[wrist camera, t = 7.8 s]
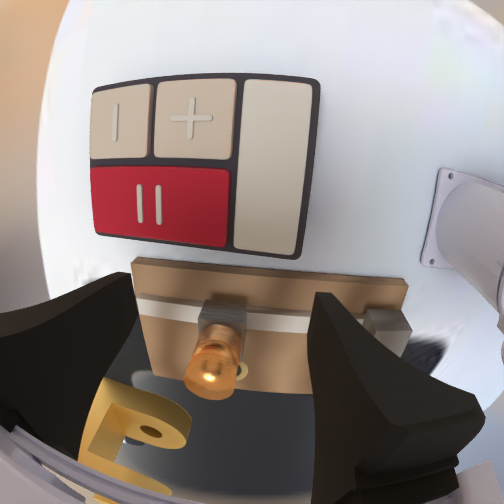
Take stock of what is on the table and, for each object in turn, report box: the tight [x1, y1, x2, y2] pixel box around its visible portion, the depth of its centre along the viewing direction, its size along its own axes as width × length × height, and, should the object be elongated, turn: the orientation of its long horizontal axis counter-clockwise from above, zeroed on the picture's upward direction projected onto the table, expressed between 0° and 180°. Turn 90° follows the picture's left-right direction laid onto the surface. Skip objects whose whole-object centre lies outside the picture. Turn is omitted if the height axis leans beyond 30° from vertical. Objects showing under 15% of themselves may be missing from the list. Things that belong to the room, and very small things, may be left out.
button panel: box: [90, 73, 320, 260], centre depth 17 cm, size 11×4×15 cm
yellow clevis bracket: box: [77, 377, 192, 504], centre depth 24 cm, size 20×9×16 cm, turn 81°
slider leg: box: [184, 299, 247, 400], centre depth 19 cm, size 3×9×7 cm, turn 177°
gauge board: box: [131, 257, 413, 394], centre depth 22 cm, size 22×13×5 cm, turn 87°
